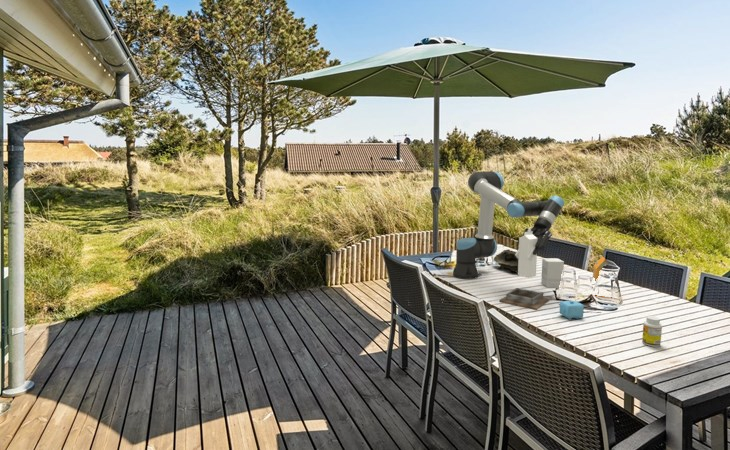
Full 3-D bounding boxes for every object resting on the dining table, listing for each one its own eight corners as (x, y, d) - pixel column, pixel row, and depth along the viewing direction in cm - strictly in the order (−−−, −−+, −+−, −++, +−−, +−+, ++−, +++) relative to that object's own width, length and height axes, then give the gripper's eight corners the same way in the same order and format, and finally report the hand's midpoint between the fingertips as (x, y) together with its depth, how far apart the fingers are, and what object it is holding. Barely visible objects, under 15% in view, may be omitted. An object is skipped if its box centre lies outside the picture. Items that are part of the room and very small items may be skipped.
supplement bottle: (642, 339, 151) (645, 314, 150) (660, 343, 148) (663, 317, 146) (641, 344, 147) (643, 318, 146) (659, 348, 143) (662, 321, 142)
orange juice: (594, 296, 204) (596, 258, 202) (591, 291, 213) (594, 255, 210) (611, 297, 201) (614, 259, 199) (608, 293, 210) (611, 256, 207)
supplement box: (557, 283, 228) (558, 258, 227) (563, 287, 220) (564, 261, 218) (540, 283, 229) (542, 257, 227) (546, 287, 221) (547, 261, 219)
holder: (499, 301, 197) (499, 294, 196) (513, 293, 210) (514, 286, 210) (536, 309, 185) (536, 301, 184) (549, 300, 198) (549, 292, 197)
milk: (536, 276, 194) (538, 231, 191) (527, 277, 191) (530, 232, 188) (525, 273, 199) (527, 230, 196) (517, 275, 196) (519, 231, 193)
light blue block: (560, 320, 172) (561, 303, 171) (552, 315, 178) (553, 299, 177) (586, 319, 173) (587, 302, 172) (577, 314, 179) (578, 298, 178)
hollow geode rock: (525, 283, 246) (541, 265, 247) (513, 270, 243) (529, 252, 243) (501, 271, 273) (516, 255, 274) (490, 259, 270) (504, 243, 270)
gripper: (565, 228, 192) (543, 266, 186) (530, 225, 208) (509, 259, 202) (559, 218, 189) (537, 256, 182) (524, 215, 205) (503, 250, 198)
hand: (522, 257), depth 192 cm, fingers closed on milk, 6 cm apart
